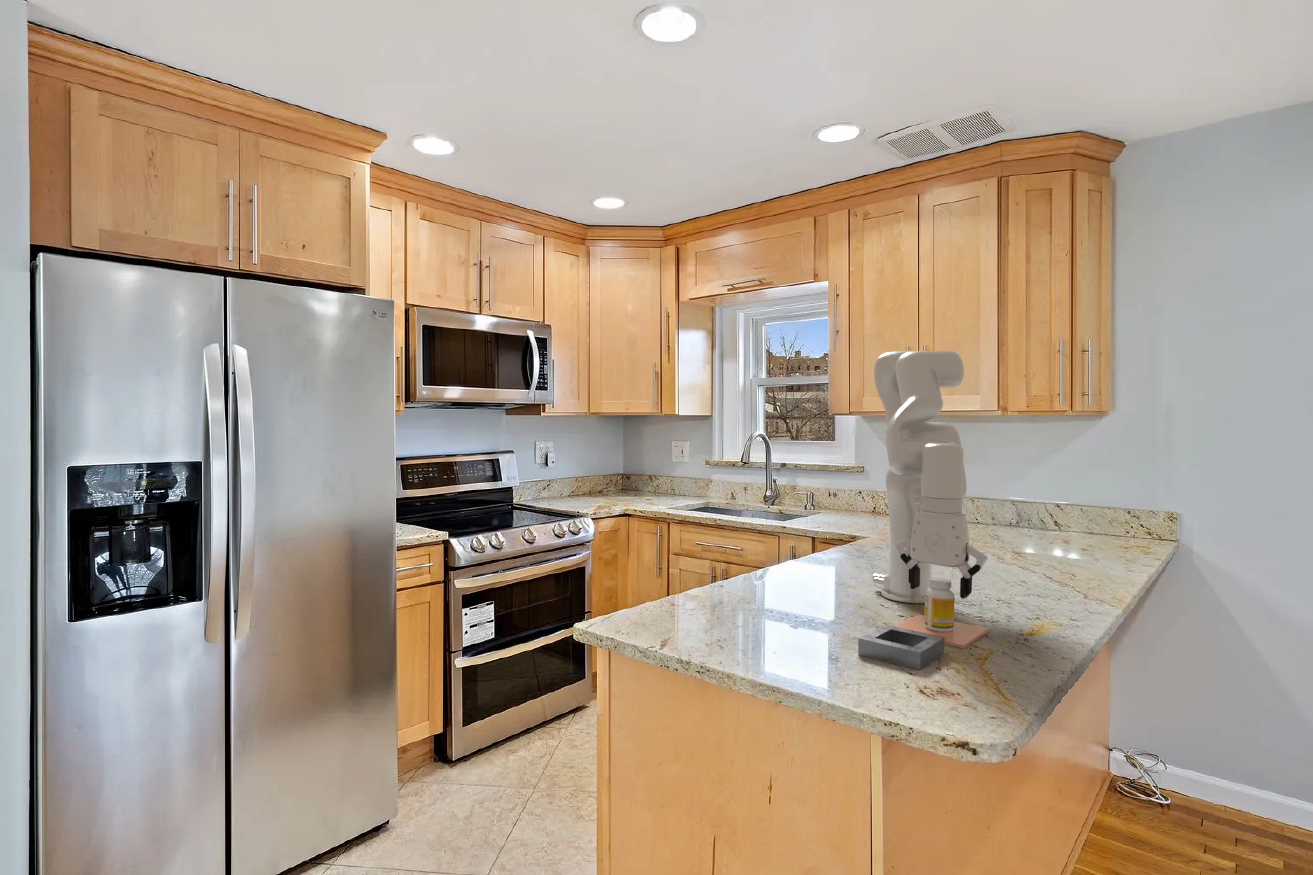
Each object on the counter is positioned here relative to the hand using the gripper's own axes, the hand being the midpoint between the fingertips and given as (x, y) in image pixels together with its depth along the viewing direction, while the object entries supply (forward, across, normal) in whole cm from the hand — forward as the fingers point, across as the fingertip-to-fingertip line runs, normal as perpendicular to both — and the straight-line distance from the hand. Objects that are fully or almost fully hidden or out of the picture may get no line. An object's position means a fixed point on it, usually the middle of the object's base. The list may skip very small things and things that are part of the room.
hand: (939, 592), depth 136 cm
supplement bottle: (+7, 0, 0) cm, 7 cm away
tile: (+8, 0, -1) cm, 8 cm away
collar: (+7, 0, -18) cm, 20 cm away
